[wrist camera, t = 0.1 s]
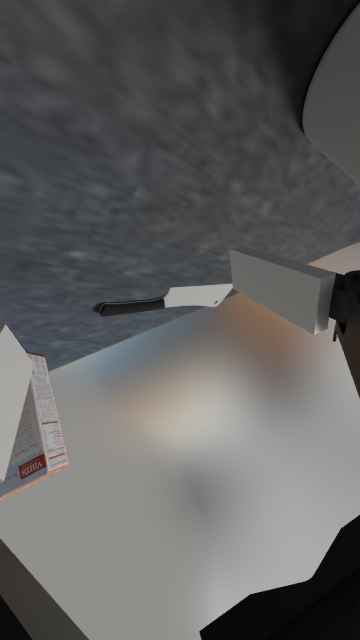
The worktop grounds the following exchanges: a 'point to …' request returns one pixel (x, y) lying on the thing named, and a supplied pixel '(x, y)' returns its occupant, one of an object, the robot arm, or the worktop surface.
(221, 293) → the kitchen cleaver
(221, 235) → the worktop surface
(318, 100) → the cylinder vase
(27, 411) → the cracker box
